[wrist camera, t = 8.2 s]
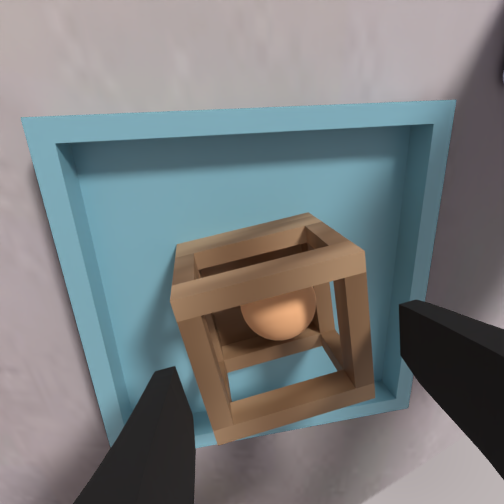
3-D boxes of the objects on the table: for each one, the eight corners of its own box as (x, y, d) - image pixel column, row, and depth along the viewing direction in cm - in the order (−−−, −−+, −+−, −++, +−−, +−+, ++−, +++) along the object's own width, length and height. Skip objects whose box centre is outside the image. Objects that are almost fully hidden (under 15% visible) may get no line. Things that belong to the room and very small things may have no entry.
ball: (279, 250, 15) (324, 258, 12) (293, 311, 15) (338, 330, 13) (219, 274, 13) (255, 288, 11) (238, 338, 14) (275, 366, 12)
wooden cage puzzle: (308, 212, 14) (364, 250, 10) (323, 322, 16) (375, 397, 12) (176, 244, 14) (169, 301, 9) (210, 354, 16) (217, 445, 11)
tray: (421, 103, 14) (456, 99, 12) (387, 381, 19) (408, 408, 18) (46, 119, 12) (20, 117, 10) (122, 427, 17) (114, 463, 15)
